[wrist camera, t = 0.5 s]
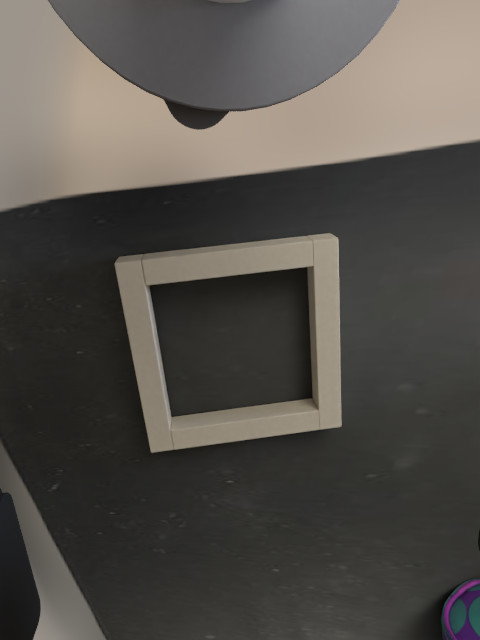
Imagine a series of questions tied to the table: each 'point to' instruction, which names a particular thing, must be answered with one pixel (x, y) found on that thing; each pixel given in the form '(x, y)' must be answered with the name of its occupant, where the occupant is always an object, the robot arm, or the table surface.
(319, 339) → the white square frame
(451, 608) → the pencil case
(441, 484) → the table surface
